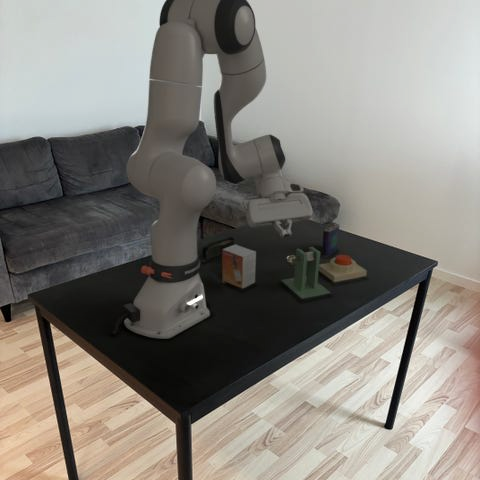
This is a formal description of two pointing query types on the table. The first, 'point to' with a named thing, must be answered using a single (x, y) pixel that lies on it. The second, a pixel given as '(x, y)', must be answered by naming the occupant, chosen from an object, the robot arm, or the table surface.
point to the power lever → (291, 259)
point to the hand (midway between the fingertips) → (286, 236)
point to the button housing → (342, 270)
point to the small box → (238, 266)
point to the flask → (330, 239)
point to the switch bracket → (303, 283)
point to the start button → (343, 260)
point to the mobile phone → (216, 247)
